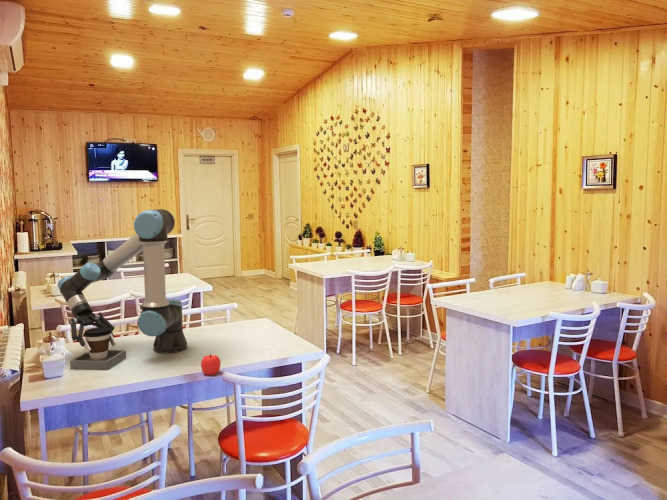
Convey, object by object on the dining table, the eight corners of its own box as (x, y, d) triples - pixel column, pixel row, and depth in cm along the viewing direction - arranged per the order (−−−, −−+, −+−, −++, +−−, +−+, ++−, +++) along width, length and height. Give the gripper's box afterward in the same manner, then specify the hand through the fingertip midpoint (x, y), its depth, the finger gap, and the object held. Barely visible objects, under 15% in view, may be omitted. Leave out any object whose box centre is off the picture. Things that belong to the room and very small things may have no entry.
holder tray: (91, 357, 240) (91, 349, 239) (126, 358, 238) (125, 350, 238) (70, 369, 224) (70, 360, 224) (107, 369, 222) (107, 361, 222)
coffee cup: (78, 360, 227) (77, 332, 226) (96, 353, 237) (95, 326, 236) (101, 362, 224) (99, 334, 223) (118, 354, 235) (116, 327, 233)
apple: (196, 375, 215) (196, 355, 214) (208, 369, 222) (207, 350, 221) (214, 377, 212) (213, 357, 211) (225, 371, 219) (224, 352, 218)
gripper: (101, 308, 247) (123, 346, 240) (50, 317, 228) (72, 360, 221) (107, 297, 244) (130, 336, 236) (55, 307, 225) (78, 349, 217)
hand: (102, 348), depth 229 cm, fingers closed on coffee cup, 11 cm apart
